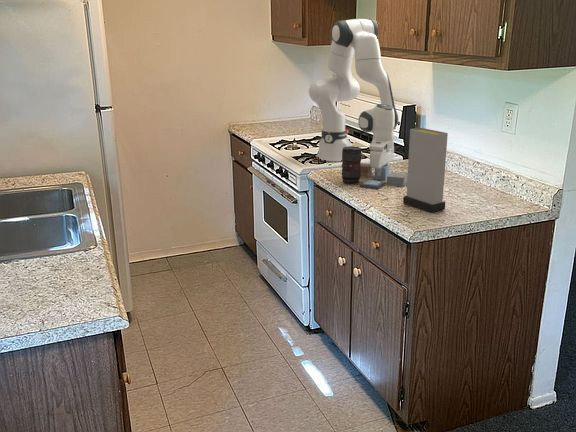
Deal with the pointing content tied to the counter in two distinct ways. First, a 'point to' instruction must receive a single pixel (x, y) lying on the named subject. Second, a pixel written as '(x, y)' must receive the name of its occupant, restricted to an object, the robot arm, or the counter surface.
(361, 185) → the tile
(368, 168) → the walnut cube
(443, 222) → the counter surface
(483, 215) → the counter surface
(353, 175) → the camera lens
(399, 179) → the riser block
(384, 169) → the slate blue cube
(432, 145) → the container
